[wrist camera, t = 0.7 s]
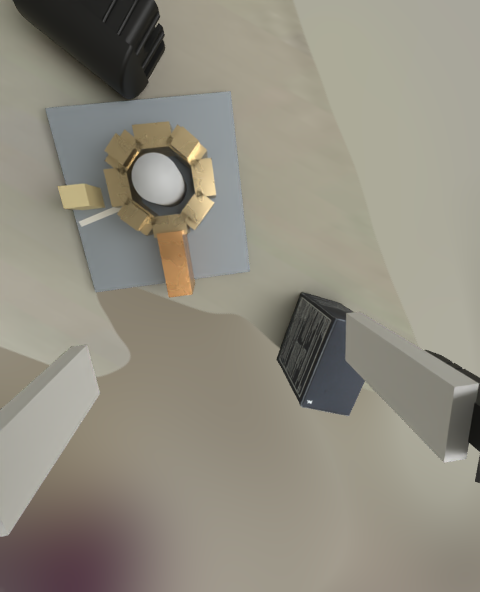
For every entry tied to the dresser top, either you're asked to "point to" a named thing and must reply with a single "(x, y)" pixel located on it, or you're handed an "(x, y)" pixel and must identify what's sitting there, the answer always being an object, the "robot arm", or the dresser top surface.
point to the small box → (319, 356)
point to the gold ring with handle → (143, 218)
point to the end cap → (104, 36)
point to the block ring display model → (150, 187)
